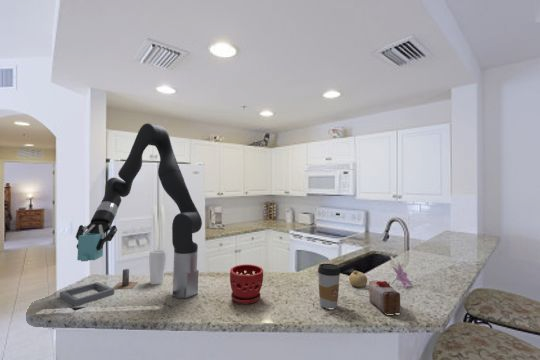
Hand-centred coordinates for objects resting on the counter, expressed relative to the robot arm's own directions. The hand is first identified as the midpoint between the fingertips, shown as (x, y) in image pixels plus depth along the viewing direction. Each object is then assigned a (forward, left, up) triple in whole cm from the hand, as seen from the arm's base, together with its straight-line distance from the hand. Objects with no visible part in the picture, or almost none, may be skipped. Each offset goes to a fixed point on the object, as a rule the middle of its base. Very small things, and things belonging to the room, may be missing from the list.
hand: (88, 249), depth 100 cm
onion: (-81, -78, -20) cm, 114 cm away
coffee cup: (-77, -49, -19) cm, 93 cm away
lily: (-98, -89, -20) cm, 134 cm away
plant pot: (-48, -36, -20) cm, 63 cm away
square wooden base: (0, -15, -19) cm, 24 cm away
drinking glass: (-7, -25, -19) cm, 32 cm away
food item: (-95, -60, -20) cm, 114 cm away
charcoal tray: (+1, -1, -19) cm, 19 cm away
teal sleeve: (+1, -1, -4) cm, 4 cm away
